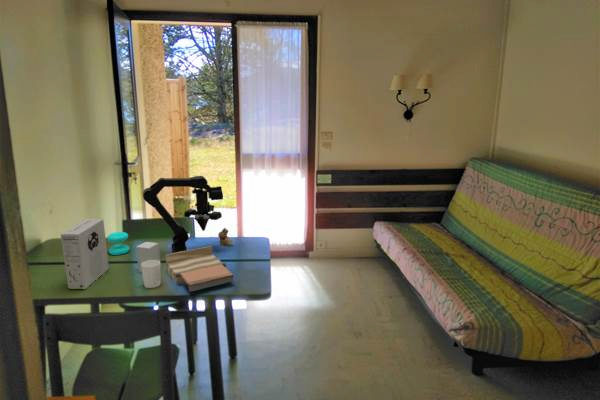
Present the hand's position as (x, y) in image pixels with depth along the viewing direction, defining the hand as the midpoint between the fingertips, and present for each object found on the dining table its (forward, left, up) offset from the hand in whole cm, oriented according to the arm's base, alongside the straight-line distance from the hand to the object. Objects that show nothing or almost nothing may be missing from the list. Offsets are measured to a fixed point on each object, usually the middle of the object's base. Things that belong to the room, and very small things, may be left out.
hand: (203, 230), depth 221 cm
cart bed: (+9, -24, -12) cm, 28 cm away
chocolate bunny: (+5, +14, -12) cm, 19 cm away
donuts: (-42, -14, -12) cm, 46 cm away
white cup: (-2, -41, -12) cm, 43 cm away
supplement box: (-13, -28, -12) cm, 33 cm away
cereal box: (-32, -45, -12) cm, 57 cm away
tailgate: (+16, -30, -8) cm, 34 cm away
